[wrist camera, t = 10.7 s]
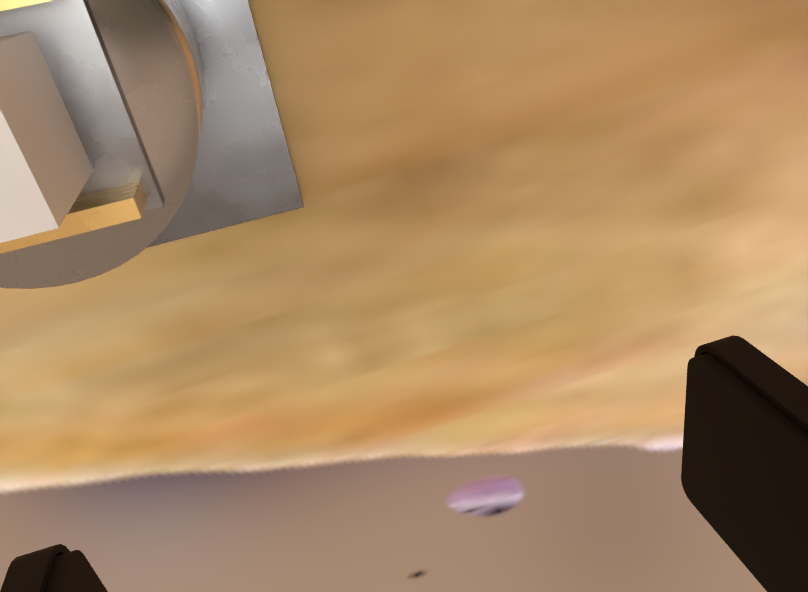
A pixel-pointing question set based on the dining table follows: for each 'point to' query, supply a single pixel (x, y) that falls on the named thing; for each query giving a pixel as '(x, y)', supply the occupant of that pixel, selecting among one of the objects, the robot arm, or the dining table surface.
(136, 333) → the dining table surface
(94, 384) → the dining table surface
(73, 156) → the white block with knob
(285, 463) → the dining table surface
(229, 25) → the cylinder on square plate
